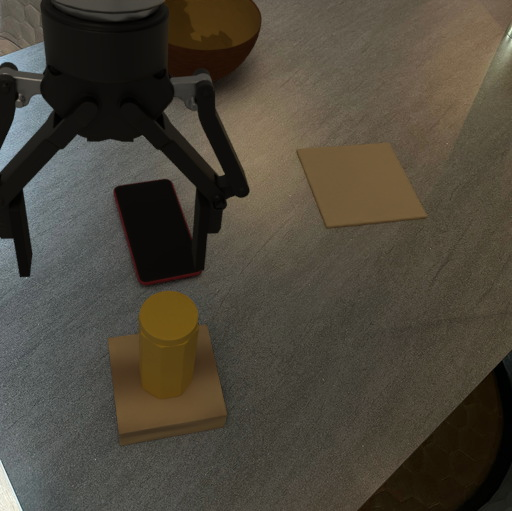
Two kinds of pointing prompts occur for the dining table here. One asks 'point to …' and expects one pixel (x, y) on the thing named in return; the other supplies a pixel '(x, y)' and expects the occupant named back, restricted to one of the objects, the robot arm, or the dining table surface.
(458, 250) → the dining table surface
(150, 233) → the smartphone
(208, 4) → the bowl
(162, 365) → the jar
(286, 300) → the dining table surface
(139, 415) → the stand
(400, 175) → the mat
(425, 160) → the dining table surface
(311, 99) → the dining table surface
